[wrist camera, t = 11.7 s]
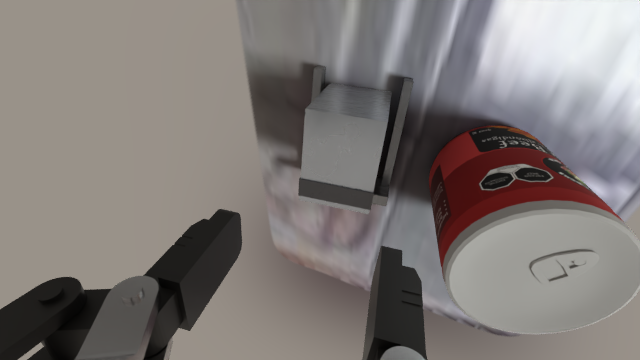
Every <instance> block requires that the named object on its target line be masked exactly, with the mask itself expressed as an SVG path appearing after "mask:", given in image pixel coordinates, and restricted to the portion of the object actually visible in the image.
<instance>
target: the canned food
mask: <svg viewBox="0 0 640 360" xmlns="http://www.w3.org/2000/svg"><path fill="white" fill-rule="evenodd" d="M429 187H430V194H431V201H432V208H433V215H434V222H435V228H436V235H437V242H438V249H439V256H440V263H441V267H442V273H443V279H444V281H445V284H446V288H447V290H448V293H449V296H450V298H451V299H452V301H453V302H454V303H455V305H456V306H457V307H458V308H459V309H460V310H461V311H462V312H463V313H464V314H466V315H467V316H469V317H470V318H472V319H474V320H475V321H477V322H479V323H482V324H484V325H486V326H489V327H491V328H495V329H499V330H503V331H507V332H514V333H521V334H549V333H559V332H564V331H570V330H575V329H578V328H581V327H584V326H588V325H591V324H594V323H596V322H598V321H600V320H602V319H605V318H607V317H609V316H611V315H612V314H613V313H615V312H617V311H618V310H620V309H621V308H623V307H624V306H625V305H626V304H627V303H628V302H629V301H630V300H632V299H633V297H635V296H636V294H637V293H638V291H639V290H640V241H639V240H638V239H637V237H636V236H635V234H634V233H633V231H632V230H631V229H630V228H629V227H628V226H627V224H626V223H625V222H624V221H623V220H622V219H621V218H620V217H619V216H618V215H616V214H615V213H614V212H613V210H612V209H611V208H610V207H609V206H608V205H607V204H606V203H605V202H604V201H603V200H602V199H600V198H599V197H598V196H597V195H596V194H595V193H594V192H593V191H592V190H591V189H590V188H589V187H588V186H587V185H586V184H584V183H583V182H582V181H581V180H580V179H579V178H578V177H577V176H576V175H575V174H574V173H573V172H572V171H571V170H570V169H569V168H567V167H566V166H565V165H564V164H563V163H562V162H561V161H560V160H559V159H558V158H557V157H556V156H555V155H554V154H553V153H551V152H550V151H549V150H548V149H547V148H546V147H545V146H544V145H543V144H542V143H541V142H540V141H539V140H538V139H537V138H535V137H534V136H532V135H531V134H529V133H528V132H525V131H523V130H520V129H517V128H512V127H507V126H484V127H478V128H475V129H472V130H469V131H466V132H464V133H462V134H460V135H458V136H457V137H455V138H454V139H452V140H451V141H450V142H448V143H447V144H446V145H445V146H444V147H443V149H442V150H441V151H440V152H439V154H438V155H437V157H436V159H435V160H434V162H433V165H432V167H431V170H430V175H429Z"/></svg>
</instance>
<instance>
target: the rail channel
mask: <svg viewBox="0 0 640 360" xmlns="http://www.w3.org/2000/svg"><path fill="white" fill-rule="evenodd" d="M325 70H326V67H323V66H317V67H315V68H314V71H313V84H312V98H311V103H312V101H313V100H314V99H315V98H316V97H317V96H318V95H319V94H320V93H321V92H322V91H323V90H324V81H325ZM412 87H413V79H411V78H404V81H403V85H402V90H401V94H400V99H399V103H398V108H397V113H396V117H395V122H394V126H393V131H392V135H391V140H390V144H389V149H388V154H387V158H386V163H385V167H384V172H383V176H382V177H379V176H377V177H376V182H375V190H374V196H373V200H372V204H377V205H382V206H386V205H387V201H388V194H389V184H390V180H391V175H392V171H393V167H394V163H395V159H396V154H397V150H398V146H399V142H400V137H401V133H402V129H403V125H404V120H405V116H406V112H407V108H408V104H409V99H410V95H411V91H412Z"/></svg>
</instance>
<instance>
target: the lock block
mask: <svg viewBox="0 0 640 360" xmlns="http://www.w3.org/2000/svg"><path fill="white" fill-rule="evenodd" d="M391 93H392V92H390V91H383V90H376V89H369V88H362V87H355V86H348V85H341V84H334V83H330V84H329V85H328V86H327V87H326V88H325V89H324V90H323V91H322V92H321V93H320V94H319V95H318V96H317V97H316V98H315V99H314V100H313V101H312V103H311V104H310V105H309V106H308V107H307V108H306V109H305V120H304V135H303V150H302V166H301V177H300V179H299V194H298V195H299V200H302V201H307V202H312V203H317V204H321V205H326V206H331V207H336V208H341V209H345V210H350V211H355V212H360V213H365V214H369V210H371V205H372V200H373V196H374V190H375V182H376V177H377V172H378V167H379V162H380V158H381V153H382V148H383V143H384V138H385V134H386V129H387V124H388V117H389V109H390V101H391Z"/></svg>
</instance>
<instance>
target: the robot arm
mask: <svg viewBox="0 0 640 360" xmlns="http://www.w3.org/2000/svg"><path fill="white" fill-rule="evenodd" d="M241 246H242V236H241V218H240V214H239V213H236V212H232V211H228V210H223V209H219V210H218V211H217V212H216V213H215V214H214V215H213V216H212V217H211V218H210V219H209V220H207V219H203V220H201V221H199V222H197V223H195V224H194V225H192V226H191V227H190V228H189V229H188V230H187V231H186V232H185V233H184V234H183V235H182V237H180V238H179V239H178V240H177V241H176V242H175V244H174V245H172V246H171V247H170V249H168V251H167V252H166V253H165V254H164V255H163V256H162V257H161V258H160V259H159V260H158V261H157V262H156V263H155V264H154V265H153V266H152V268H150V269H149V270H148V271H147V273H146V274H145V275H143V276H135V277H131V278H128V279H126V280H124V281H122V282H120V283H118V284H117V285H116V286H114V287H113V288H112V289H99V290H98V289H97V290H83V288H82V286H81V283H80V282H79V281H78V280H77V279H75V278H72V277H61V278H56V279H52V280H49V281H47V282H45V283H42V284H40V285H39V286H37V287H35V288H34V289H32V290H31V291H29V292H28V293H26V294H24V295H23V296H21V297H19V298H18V299H16V300H15V301H13V302H11V303H10V304H8V305H7V306H5V307H3V308H2V309H0V360H18V359H19V358H20V357H21V356H23V355H24V354H26V353H27V352H28V351H29V350H31V349H32V348H33V347H35V346H36V345H37V344H39V343H40V342H41V343H42V344H43V346H44V347H43V348H42V349H40V350H39V351H38V352H37V353H35V354H34V355H33V356H32V357H30V358H29V359H27V360H169V356H170V352H171V348H172V343H173V338H172V336H173V335H174V334H175V332H176V330H177V329H178V328H182V329H185V330H188V331H190V330H191V328H192V327H193V325H194V324H195V322H196V321H197V319H198V318H199V316H200V315H201V313H202V311H203V310H204V308H205V307H206V305H207V304H208V302H209V301H210V299H211V298H212V296H213V295H214V293H215V292H216V290H217V289H218V287H219V286H220V284H221V282H222V281H223V279H224V278H225V276H226V275H227V273H228V272H229V270H230V268H231V267H232V266H233V264H234V263H235V261H236V259H237V258H238V256H239V254H240V251H241ZM422 307H423V301H422V284H421V280H420V278H419V276H418V274H417V272H416V270H415V269H414V268H410V267H406V266H402V250H398V249H393V248H389V247H385V246H381V248H380V252H379V256H378V259H377V263H376V267H375V271H374V275H373V280H372V285H371V292H370V300H369V309H368V317H367V326H366V334H365V343H364V352H363V360H427V356H426V350H425V333H424V319H423V318H424V317H423V309H422Z"/></svg>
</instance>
